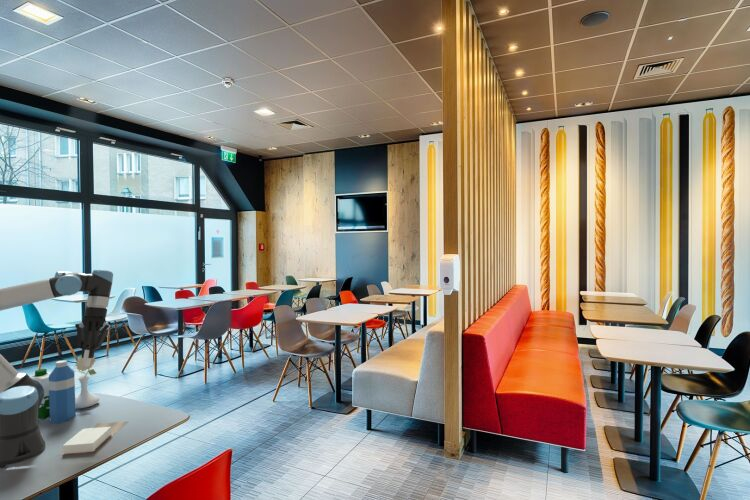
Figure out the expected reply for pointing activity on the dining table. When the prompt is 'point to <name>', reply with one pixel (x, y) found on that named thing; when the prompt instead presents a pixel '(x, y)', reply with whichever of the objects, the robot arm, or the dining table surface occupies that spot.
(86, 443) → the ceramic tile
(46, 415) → the milk carton
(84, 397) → the flower in vase
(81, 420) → the dining table surface
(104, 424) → the walnut board
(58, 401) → the water bottle
